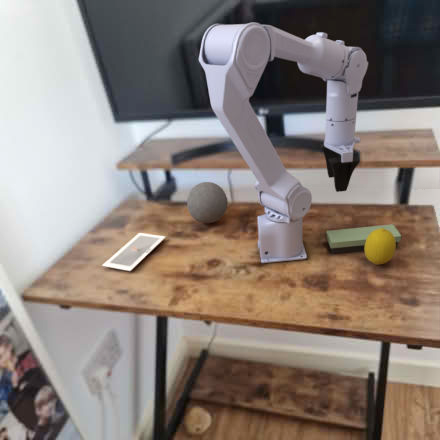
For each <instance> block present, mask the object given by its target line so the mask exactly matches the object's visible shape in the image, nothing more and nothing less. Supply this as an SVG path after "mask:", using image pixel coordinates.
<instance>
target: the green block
mask: <svg viewBox="0 0 440 440" xmlns="http://www.w3.org/2000/svg"><path fill="white" fill-rule="evenodd" d="M381 228H384V229H386V230H388V231H390V232H391V233H392V234H393V235H394V238H395V243H396V248H397V247H398V243H400V242H401V240H402V235H401V233H400V232H399V230H398V229H397V228H396V226H395V225H394V224H383V225H373V226H362V227H353V228H352V227H351V228H342V229H332V230H331V229H330V230H326V231H325V237H326V239H327V245H328V247H329V249H330V252H331V254H332V255H333V254H343V253H354V252H365V251H364V247H365V242H366V239H367V237H368V236H369V234H370V233H371V232H373V231H374V230H377V229H381Z"/></svg>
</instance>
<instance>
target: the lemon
mask: <svg viewBox="0 0 440 440" xmlns="http://www.w3.org/2000/svg"><path fill="white" fill-rule="evenodd" d="M396 249H397V247H396V243H395V238H394V235H393V234H392V233H391V232H390V231H388V230H386V229H384V228H381V229H377V230H374V231H373V232H371V233H370V234H369V236H368V237H367V239H366V242H365V247H364V251H363V252H364V255H365V257H366V259H367V260H368V261H369V262H370V263H372V264H375V265H376V266H379V265H383V264H386V263H388V262H389V261H391V259H392V258H393V257H394V255H395V252H396Z"/></svg>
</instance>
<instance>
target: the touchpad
mask: <svg viewBox="0 0 440 440" xmlns="http://www.w3.org/2000/svg"><path fill="white" fill-rule="evenodd" d="M166 237H167V236H165V235H158V234H151V233H143V232H138V233H137V234H136V235H135V236H134V237H132V238H131V239H130V240H129V241H128V242H127V243H125V244H124V245H123V246H122V247H121V248H120V249H119V250H118V251H116V252H115V253H114V254H113V255H112V256H111V257H109V259H107V260H106V261H105V262H104V263H103V264H102V265H101V266H102V267H107V268H112V269H117V270H121V271H127V272H131V271H132V270H133V269H134V268H135V267H136V266H137V265H139V263H140V262H141V261H142V260H143V259H145V258H146V256H147V255H149V254H150V253H151V252H152V251H153V250H154V249H155V248H157V246H158V245H159V244H160V243H161V242H162V241H163V240H164V239H165V238H166Z"/></svg>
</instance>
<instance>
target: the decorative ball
mask: <svg viewBox="0 0 440 440" xmlns="http://www.w3.org/2000/svg"><path fill="white" fill-rule="evenodd" d="M186 200H187V201H186V204H187V210H188V212H189V215H190V216H191V217H192V218H193V219H194V220H196V221H197V222H199V223H202V224H213V223H215V222H218V221H219V220H221V218H223V217H224V215H225V214H226V211H227V209H228V197H227V194H226V192H225V190H224V188H222V187H221V186H220V185H218V184H217V183H215V182H211V181H204V182H200V183H197V184H196V185H194V186H193V187H192V188H191V190H190V191H189V193H188V195H187V199H186Z"/></svg>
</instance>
